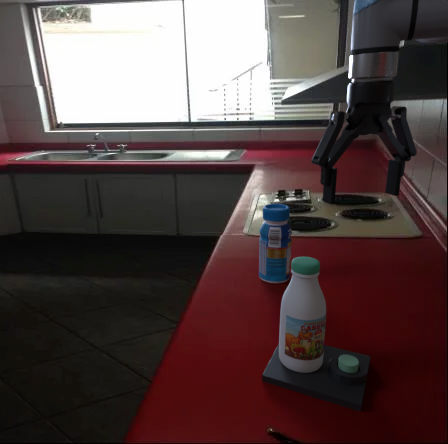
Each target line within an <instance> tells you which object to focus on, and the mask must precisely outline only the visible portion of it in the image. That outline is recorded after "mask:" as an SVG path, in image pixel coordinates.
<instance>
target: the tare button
mask: <svg viewBox="0 0 448 444" xmlns="http://www.w3.org/2000/svg"><path fill="white" fill-rule="evenodd" d="M338 367H339V369H341V370H342V371H344V372H348V373H356V372H357V371H358V367H359V361H358V359H357V358H355V357H354V356H351V355H341V356H340V357H339V361H338Z"/></svg>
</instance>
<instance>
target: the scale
mask: <svg viewBox="0 0 448 444" xmlns="http://www.w3.org/2000/svg"><path fill="white" fill-rule="evenodd" d="M341 355H351V356H354V357H355V358H357V359H358V361H359V367H358V371H357V372H356V373H348V372H344V371H342V370H341V369H339V367H338V361H339V357H340V356H341ZM371 357H372V356H371V355H367V354H363V353H359V352H355V351H350V350H346V349H343V348H338V347H334V346H330V345H327V344H324V354H323V363H322V365H321V367H320V368H319V369H318V370H316V371H314V372H309V373H301V372H296V371H293V370H291V369H288V368H287V367H285V366H284V365H283V364H282V363H281V361H280V359H279V343H278V345H277V346H276V348H275V350H274V352H273V354H272V355H271V358H270V360H269V361H268V363H267V365H266V367H265V369H264V371H263V373H262V374H261V382H263V383H266V384H269V385H273V386H276V387H280V388H282V389H286V390H289V391H292V392H295V393H298V394H302V395H305V396H307V397H312V398H314V399H317V400H322V401H324V402H328V403H330V404H334V405H338V406H340V407H344V408H346V409H347V408H348V409H350V410H354V411H357V412H362V408H363V402H364V397H365V392H366V385H367V380H368V374H369V369H370V363H371Z"/></svg>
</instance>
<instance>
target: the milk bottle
mask: <svg viewBox="0 0 448 444" xmlns="http://www.w3.org/2000/svg"><path fill="white" fill-rule="evenodd" d="M320 270H321V262H320V261H319V259H317V258H315V257H311V256H297V257H294V258H293V259H291V263H290V273H291V274H292V275H291V279H290V282H289V284H288V285H287V286H286V289H285V290H284V292H283V295H282V298H281V302H280V312H279V313H280V315H279V333H278V334H279V335H278V338H279V339H278V344H279V359H280V361H281V363H282V364H283V365H284V366H285V367H287V368H288V369H291V370H293V371H296V372H301V373H309V372H314V371H316V370H318V369H319V368H320V367H321V365H322V363H323V354H324V345H325V341H326V340H325V339H326V324H327V303H326V298H325V296H324V293H323V291H322V288H321V285H320V283H319V275H320Z"/></svg>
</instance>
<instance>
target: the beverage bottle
mask: <svg viewBox="0 0 448 444" xmlns="http://www.w3.org/2000/svg"><path fill="white" fill-rule="evenodd" d="M290 217H291V207H290V206H288V205H286V204H284V203H269V204H265V205H264V206H263V207H262V220H263V223H262V224H261V226H260V228H259V231H258V232H259V235H260V236H259V238H258V247H259V248H258V249H259V250H258V252H259V253H258V277H259V279H260V280H261V281H263V282H266V283H269V284H283V283H286V282H288V281H289V280H290V278H291V262H292V259H291V257H292V247H293V246H292V245H293V239H292V238H291V237H292V234H293V230H292V227H291V225H290V223H289V220H290Z"/></svg>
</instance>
